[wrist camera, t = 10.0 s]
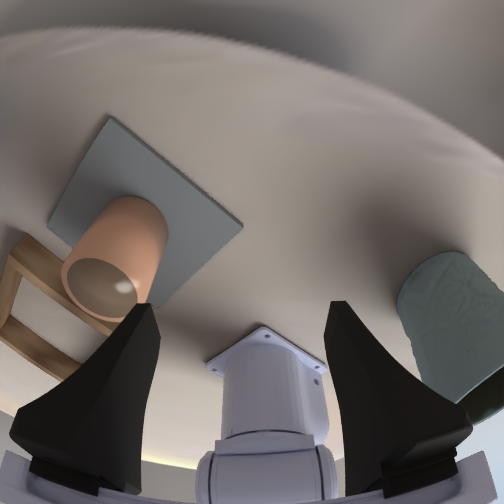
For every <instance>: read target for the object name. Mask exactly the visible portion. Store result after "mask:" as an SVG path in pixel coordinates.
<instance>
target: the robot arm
mask: <svg viewBox="0 0 504 504" xmlns="http://www.w3.org/2000/svg"><path fill="white" fill-rule="evenodd" d="M267 334H269V335H267ZM160 339H161V337H160V333H159V330H158V327H157V324H156V320H155V317H154V314H153V310H152V307H151V303H136V305H135V306H134V307H133V308H132V309H131V310H130V312H129V313H128V314H127V315H126V317H125V318H124V319H123V320H122V321H121V323H120V324H119V325H118V326H117V328H116V329H115V330H114V331H113V332H112V333H111V335H110V336H109V337H108V338H107V339H106V340H105V342H104V343H103V344H102V345H101V346H100V347H99V348H98V349H97V350H96V351H95V353H94V354H93V355H92V356H91V357H90V358H89V359H88V360H87V361H86V362H85V363H84V364H83V365H81V366H80V367H79V368H78V369H77V370H76V371H75V372H74V373H72V374H71V375H70V376H69V377H67V378H66V379H65V380H64V381H62V382H61V383H60V384H59V385H57V386H56V387H54V388H53V389H52V390H50V391H49V392H47V393H45V394H44V395H42V396H41V397H39V398H37V399H36V400H34V401H32V402H30V403H28V404H27V405H25V406H23V407H21V408H19V409H18V411H17V413H16V416H15V419H14V421H13V424H12V427H11V429H10V432H9V435H10V438H11V439H12V440H13V441H14V442H15V443H16V444H18V445H19V446H20V447H21V448H23V449H24V450H25V451H27V452H28V453H29V454H31V455H32V456H33V457H32V461H30V460H28V459H26V458H24V457H22V456H19V455H17V454H15V453H13V452H10V451H8V450H6V451H5V455H4V458H3V461H2V465H1V468H0V501H1V502H3V503H5V504H194V503H184V502H175V501H167V500H159V499H153V498H147V497H142V496H137V495H138V494H140V492H141V448H142V434H143V424H144V415H145V409H146V404H147V399H148V395H149V391H150V387H151V384H152V380H153V376H154V372H155V368H156V364H157V360H158V354H159V347H160ZM324 343H325V350H326V357H327V361H328V365H329V369H330V373H331V376H332V380H333V384H334V388H335V392H336V396H337V400H338V404H339V409H340V416H341V424H342V432H343V443H344V457H345V486H346V487H345V496H346V497H342V498H338V482H337V473H336V467H335V462H334V458H333V455H332V452H331V451H330V450H329V449H328V448H326V447H325V446H324V445H323V443H324V441H325V439H326V437H327V434H328V431H329V416H328V411H327V405H326V399H325V394H324V388H323V383H322V377H321V375H322V374H323V373H325V372H327V370H328V368H327V366H326V365H325V364H323V363H321V362H320V361H318V360H317V359H315V358H313V357H312V356H310V355H309V354H307V353H306V352H304V351H302V350H301V349H299V348H298V347H296V346H295V345H293V344H292V343H290V342H288V341H287V340H285V339H284V338H282V337H281V336H279V335H278V334H276V333H275V332H273V331H272V330H270V329H269V328H267V327H260V328H258V329H257V330H255V331H254V332H253V333H251V334H250V335H248V336H247V337H245V338H244V339H242V340H241V341H239V342H238V343H236V344H235V345H233V346H232V347H230V348H229V349H227V350H226V351H224V352H223V353H221V354H219V355H218V356H216V357H215V358H213V359H212V360H210V361H209V362H207V363H206V365H205V368H206V369H207V370H209V371H211V372H213V373H215V374H217V375H219V376H221V377H222V378H224V386H223V406H222V428H221V440H216V441H215V451H208V452H207V453H206V454H205V455H204V456H203V457H202V458H201V459H200V461H199V463H198V467H197V472H196V481H195V488H196V489H195V491H196V501H197V504H490V503H492V502H494V501H495V500H497V498H498V497H497V493H496V489H495V486H494V482H493V479H492V475H491V472H490V469H489V466H488V462H487V459H486V456H485V454H484V451H480V452H478V453H476V454H473V455H471V456H469V457H466V458H464V459H462V460H460V461H458V462H455V459H454V457H455V456H457V451H456V448H455V447H456V446H458V445H459V444H460V443H461V442H462V441H464V440H465V439H466V438H467V437H468V436H469V435H470V434H471V432H472V431H473V426H472V423H471V420H470V418H469V415H468V413H467V411H466V409H465V408H463V407H461V406H459V405H457V404H456V403H454V402H452V401H450V400H448V399H446V398H445V397H443V396H441V395H440V394H438V393H437V392H435V391H434V390H432V389H431V388H429V387H428V386H426V385H425V384H424V383H422V382H421V381H420V380H419V379H417V378H416V377H415V376H413V375H412V374H411V373H410V372H408V371H407V370H406V369H405V368H404V367H403V366H402V365H401V364H400V363H399V362H397V361H396V360H395V359H394V358H393V357H392V356H391V355H390V354H389V352H388V351H387V350H386V349H385V348H384V347H383V346H382V345H381V344H380V343H379V342H378V340H377V339H376V338H375V337H374V336H373V334H372V333H371V332H370V331H369V330H368V329H367V327H366V326H365V325H364V324H363V322H362V321H361V320H360V318H359V317H358V316H357V315H356V313H355V312H354V311H353V309H352V308H351V307H350V305H349V304H348V303H347V302H346V301H331V303H330V308H329V313H328V318H327V322H326V327H325V332H324Z"/></svg>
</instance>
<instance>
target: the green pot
mask: <svg viewBox="0 0 504 504" xmlns="http://www.w3.org/2000/svg"><path fill="white" fill-rule="evenodd" d="M397 310H398V314H399V317H400V320H401V322H402V325H403V328H404V330H405V333H406V335H407V337H409V339H410V341H411V346H412V350H413V355H414V357H415V359H416V364H417V367H418V370H419V372H420V374H421V379H422V382H423V383H424V384H425V385H426V386H428V387H429V388H431V389H432V390H434V391H435V392H437V393H438V394H440V395H441V396H443V397H445V398H446V399H448V400H450V401H452V402H454V403H456V404H457V405H459V406H461V407H463V408H465V409H466V411H467V413H468V415H469V418H470V420H471V423H472V426H475V425H477V424H479V423H481V422H483V421H484V420H486V419H488V418H490V417H492V416H493V415H495V414H497V413H498V412H499V411H501V410H502V409H504V292H503V291H501V290H500V289H499V288H498V287H497V285H496V284H495V283H494V282H492V281H491V279H490V278H489V277H488V276H487V274H485V273H484V272H483V271H482V270H481V269H480V268H479V267H478V265H477V264H476V263H475V262H474V261H473V260H471V259H470V258H469V257H468V256H466V255H465V254H463V253H460V252H456V251H449V252H443V253H440V254H438V255H435V256H433V257H431V258H429V259H427V260H426V261H424V262H423V263H422V264H420V265H419V266H418V267H417V268H416V269H415V270H414V271H413V272H412V273H411V274H410V275H409V276H408V278H407V279H406V281H405V282H404V284H403V285H402V287H401V289H400V292H399V295H398V297H397Z"/></svg>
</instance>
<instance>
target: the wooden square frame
mask: <svg viewBox="0 0 504 504" xmlns="http://www.w3.org/2000/svg"><path fill="white" fill-rule="evenodd" d="M63 264H64V262H62V261H61V260H60V259H58V258H57V257H56V256H55V255H53V254H52V253H51V252H50V251H48V250H47V249H46V248H45V247H43V246H42V245H41V244H40V243H39V242H37V241H36V240H35V239H34V238H33V237H31V236H30V235H29V234H27V235H26V236H25V237H24V238H23V239H22V240H21V241H20V242H19V243H18V244H17V245H16V246H15V247H14V248H13V249H12V251H11V252H10V253H9V254H8V258H7V261H6V264H5V268H4V272H3V275H2V279H1V283H0V340H1V341H2V342H4V343H5V344H6V345H8V346H9V347H10V348H11V349H13V350H14V351H16V352H17V353H18V354H20V355H21V356H22V357H24V358H25V359H27V360H28V361H30V362H31V363H32V364H34V365H35V366H37V367H38V368H40V369H41V370H43V371H44V372H46V373H47V374H49V375H51V376H52V377H54V378H55V379H57V380H59V381H60V382H62V381H64V380H65V379H66V378H67V377H69V376H70V375H71V374H72V373H74V372H75V371H76V370H77V369H78V368H79V367H80V366H81V364H79V363H78V362H76V361H74V360H73V359H71V358H70V357H68V356H67V355H65V354H64V353H62V352H60V351H59V350H57V349H56V348H54V347H53V346H52V345H50V344H49V343H47V342H46V341H44V340H43V339H41V338H40V337H39V336H37V335H36V334H34V333H33V332H32V331H30V330H29V329H28V328H26V327H25V326H24V325H22V324H21V323H20V322H18V321H17V320H16V319H15V318H13V317H12V316H11V315H10V312H11V309H12V305H13V302H14V299H15V296H16V293H17V290H18V287H19V284H20V281H21V278H22V275H23V276H24V277H25V278H27V279H28V280H29V281H30V282H32V283H33V284H34V285H35V286H37V287H38V288H39V289H40V290H42V291H43V292H44V293H46V294H47V295H48V296H50V297H51V298H52V299H54V300H55V301H56V302H58V303H59V304H60V305H62V306H63V307H65V308H66V309H67V310H69V311H70V312H72V313H73V314H74V315H76V316H77V317H79V318H80V319H82V320H83V321H85V322H86V323H88V324H89V325H91V326H92V327H94V328H95V329H97V330H98V331H100V332H101V333H103V334H104V335H106V336H108V337H109V336H110V335H111V333H112V332H113V331H114V330H115V329H116V328H117V326H118V325H119V324H120V323H121V322H110V321H105V320H102V319H99V318H96V317H94V316H92V315H90V314H88V313H87V312H85V311H84V310H82V309H81V308H80V307H79V306H78V305H76V304H75V303H74V301H73V300H72V299H71V298H70V297H69V295H68V294H67V292H66V290H65V288H64V286H63V283H62V278H61V270H62V266H63Z"/></svg>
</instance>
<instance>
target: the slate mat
mask: <svg viewBox="0 0 504 504" xmlns="http://www.w3.org/2000/svg"><path fill="white" fill-rule="evenodd" d="M124 196H133V197H138V198H141V199H144V200H146V201H148V202H149V203H151V204H152V205H154V206H155V207H156V208H157V209H158V210H159V211H160V212H161V214H162V215H163V217H164V218H165V220H166V223H167V226H168V231H169V236H168V242H167V244H166V247H165V250H164V252H163V255H162V258H161V260H160V263H159V266H158V268H157V271H156V274H155V277H154V279H153V282H152V285H151V288H150V291H149V294H148V296H147V299H146V301H147V302H148V303H151V305H153V306H154V307H156V308H158V307H159V306H160V305H161V304H162V303H163V302H165V301H166V300H167V299H168V298H169V297H170V296H171V295H172V294H173V293H174V292H175V291H176V290H177V289H178V288H179V287H180V286H181V285H183V284H184V283H185V282H186V281H187V280H188V279H189V278H190V277H191V276H192V275H193V274H194V273H195V272H196V271H198V270H199V269H200V268H201V267H202V266H203V265H204V264H205V263H206V262H207V261H208V260H209V259H210V258H212V257H213V256H214V255H215V254H216V253H217V252H218V251H219V250H220V249H221V248H222V247H223V246H225V245H226V244H227V243H228V242H229V241H230V240H231V239H232V238H233V237H234V236H235V235H237V234H238V233H239V232H240V231H241V230H242V229H243V224H242V223H241V222H240V221H238V220H237V219H236V218H235V217H234V216H232V215H231V214H230V213H229V212H228V211H227V210H225V209H224V208H223V207H222V206H221V205H219V204H218V203H217V202H216V201H215V200H213V199H212V198H211V197H210V196H209V195H207V194H206V193H205V192H204V191H203V190H201V189H200V188H199V187H198V186H197V185H195V184H194V183H193V182H192V181H191V180H189V179H188V178H187V177H186V176H185V175H183V174H182V173H181V172H180V171H178V170H177V169H176V168H175V167H174V166H172V165H171V164H170V163H169V162H168V161H166V160H165V159H164V158H163V157H161V156H160V155H159V154H158V153H157V152H155V151H154V150H153V149H152V148H150V147H149V146H148V145H147V144H146V143H144V142H143V141H142V140H141V139H139V138H138V137H137V136H136V135H135V134H133V133H132V132H131V131H130V130H128V129H127V128H126V127H125V126H123V125H122V124H121V123H120V122H119V121H117V120H116V119H115V118H114V117H111V118H109V120H108V121H107V123H106V124H105V125H104V127H103V128H102V130H101V131H100V133H99V134H98V136H97V137H96V139H95V141H94V142H93V144H92V145H91V147H90V148H89V150H88V152H87V153H86V155H85V156H84V158H83V160H82V161H81V163H80V165H79V167H78V168H77V170H76V172H75V173H74V175H73V177H72V179H71V180H70V182H69V184H68V186H67V188H66V190H65V191H64V193H63V195H62V197H61V199H60V201H59V203H58V205H57V207H56V209H55V211H54V213H53V215H52V217H51V219H50V221H49V223H48V225H47V228H48V229H50V230H51V231H52V232H53V233H55V234H56V235H57V236H58V237H60V238H61V239H62V240H63V241H65V242H66V243H67V244H68V245H70V246H71V247H72V248H73V249H74V248H75V246H76V245H77V243H78V242H79V241H80V239H81V238H82V237H83V235H84V234H85V232H86V231H87V230H88V228H89V227H90V226H91V225H92V223H93V222H94V221H95V219H96V218H97V217H98V215H99V214H100V213H101V212H102V210H103V209H104V208H105V207H106V205H107V204H108V203H110V202H111V201H112V200H114V199H116V198H119V197H124Z"/></svg>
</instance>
